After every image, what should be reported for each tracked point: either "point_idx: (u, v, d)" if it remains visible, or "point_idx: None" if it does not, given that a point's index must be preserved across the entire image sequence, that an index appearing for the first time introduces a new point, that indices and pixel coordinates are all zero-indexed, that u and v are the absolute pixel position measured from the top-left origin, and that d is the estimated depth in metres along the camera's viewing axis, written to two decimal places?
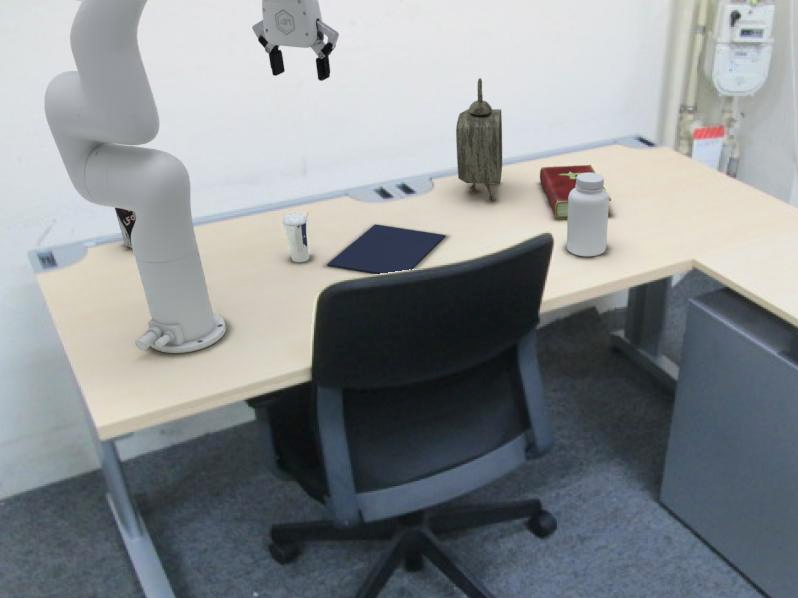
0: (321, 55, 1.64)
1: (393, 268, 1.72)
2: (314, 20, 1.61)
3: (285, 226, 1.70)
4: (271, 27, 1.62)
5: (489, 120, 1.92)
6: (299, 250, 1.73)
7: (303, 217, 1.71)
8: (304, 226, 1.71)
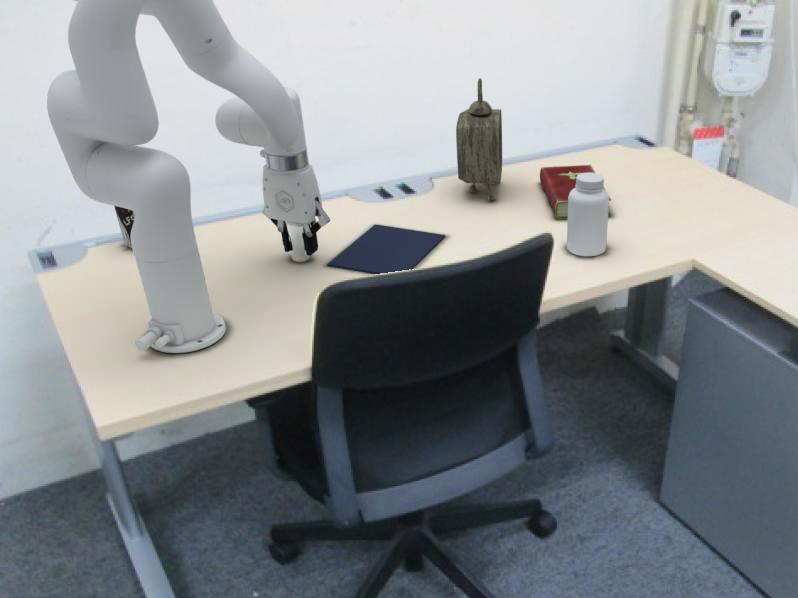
0: (309, 234, 1.71)
1: (393, 268, 1.72)
2: (313, 199, 1.66)
3: (288, 226, 1.70)
4: (271, 204, 1.68)
5: (489, 120, 1.92)
6: (299, 250, 1.73)
7: None
8: None
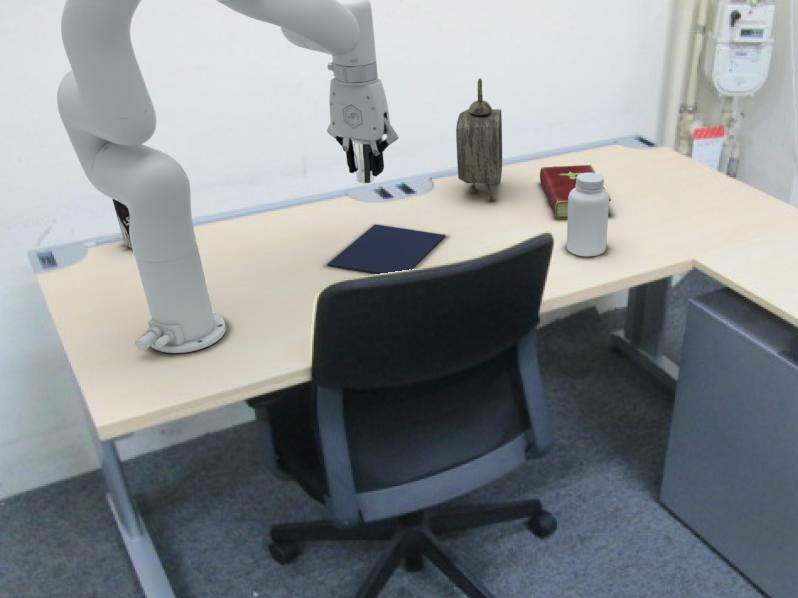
0: (376, 152, 1.65)
1: (393, 268, 1.72)
2: (382, 114, 1.60)
3: (354, 143, 1.64)
4: (338, 120, 1.62)
5: (489, 120, 1.92)
6: (365, 170, 1.67)
7: None
8: None
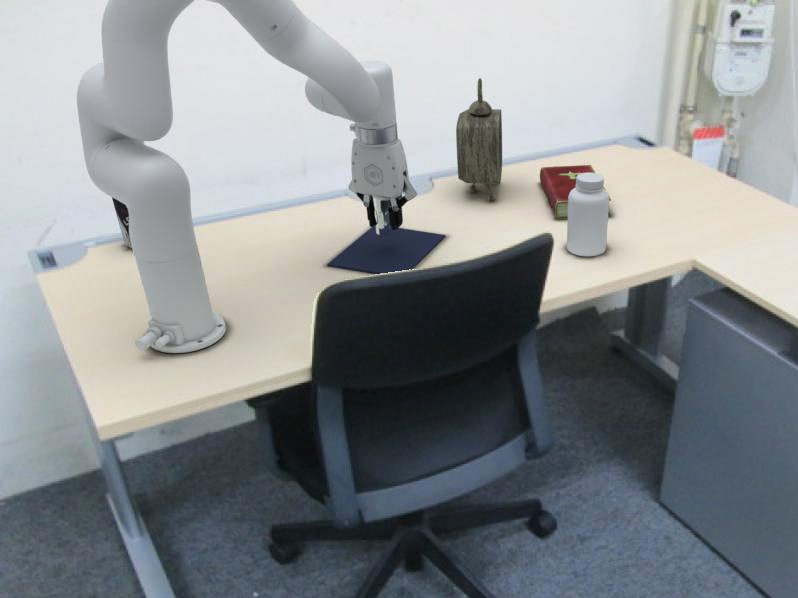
0: (395, 208, 1.72)
1: (393, 268, 1.72)
2: (401, 173, 1.67)
3: (374, 200, 1.71)
4: (359, 178, 1.69)
5: (489, 120, 1.92)
6: (385, 224, 1.74)
7: None
8: None
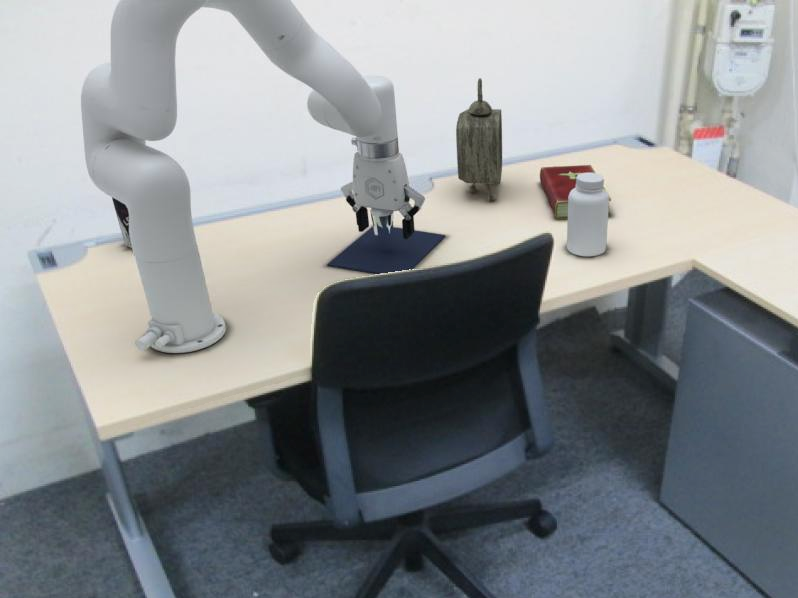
0: (407, 217, 1.72)
1: (393, 268, 1.72)
2: (402, 187, 1.69)
3: (373, 216, 1.73)
4: (361, 192, 1.70)
5: (489, 120, 1.92)
6: (385, 240, 1.76)
7: None
8: (391, 216, 1.74)
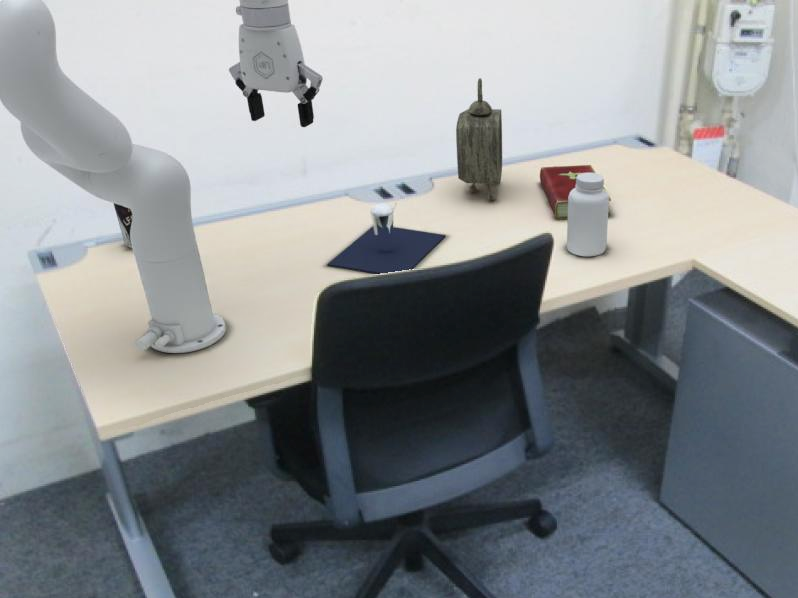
0: (303, 100, 1.51)
1: (393, 268, 1.72)
2: (295, 63, 1.48)
3: (373, 216, 1.73)
4: (249, 70, 1.49)
5: (489, 120, 1.92)
6: (385, 240, 1.76)
7: (390, 207, 1.74)
8: (391, 216, 1.74)
